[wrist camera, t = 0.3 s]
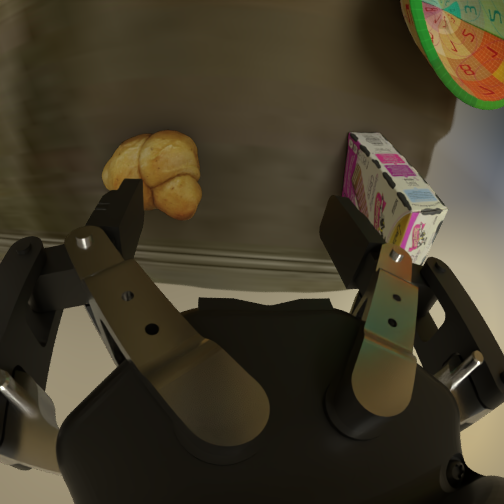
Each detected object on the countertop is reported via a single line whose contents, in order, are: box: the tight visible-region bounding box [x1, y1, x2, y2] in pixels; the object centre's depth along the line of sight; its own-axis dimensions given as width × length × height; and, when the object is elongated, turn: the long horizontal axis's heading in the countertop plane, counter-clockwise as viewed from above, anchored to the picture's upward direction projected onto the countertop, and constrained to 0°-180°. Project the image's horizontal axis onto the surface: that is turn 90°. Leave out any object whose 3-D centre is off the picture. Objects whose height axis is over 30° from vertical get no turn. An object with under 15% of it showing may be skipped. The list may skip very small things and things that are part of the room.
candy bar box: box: [342, 132, 448, 265], centre depth 31 cm, size 11×5×16 cm, turn 5°
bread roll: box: [102, 130, 202, 220], centre depth 30 cm, size 13×10×8 cm
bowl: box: [400, 0, 504, 110], centre depth 15 cm, size 22×22×10 cm
